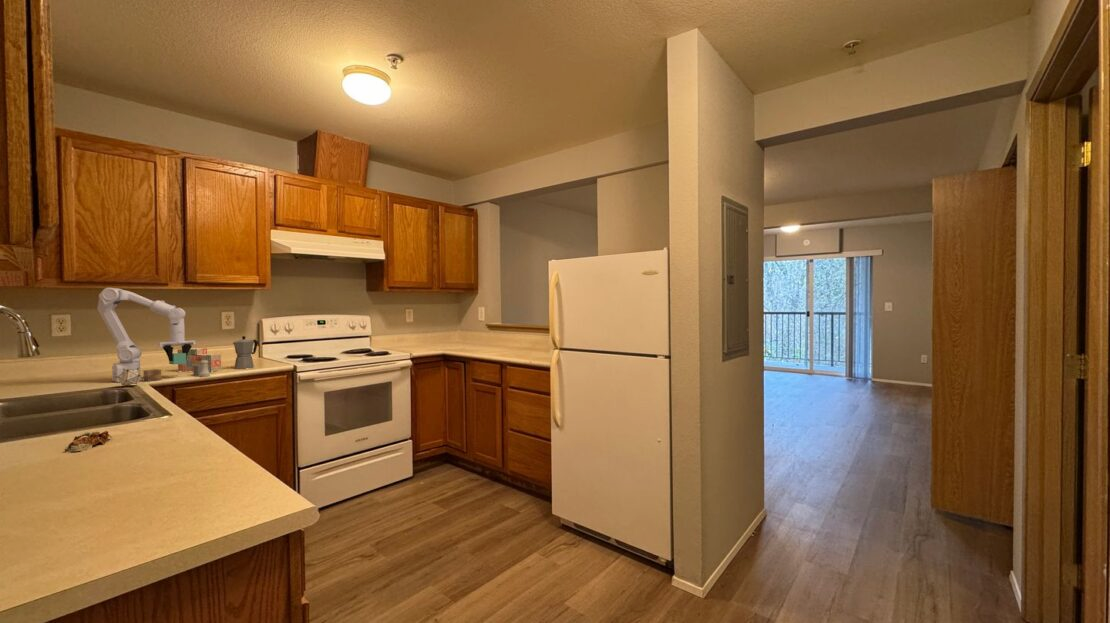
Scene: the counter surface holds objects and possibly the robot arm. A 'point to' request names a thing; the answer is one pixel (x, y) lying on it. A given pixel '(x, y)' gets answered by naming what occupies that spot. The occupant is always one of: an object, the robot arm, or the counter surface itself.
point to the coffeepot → (244, 353)
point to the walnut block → (152, 375)
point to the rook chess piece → (204, 369)
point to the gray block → (198, 369)
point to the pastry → (87, 441)
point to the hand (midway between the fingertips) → (177, 360)
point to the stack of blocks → (200, 359)
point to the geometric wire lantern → (130, 377)
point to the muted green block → (178, 358)
